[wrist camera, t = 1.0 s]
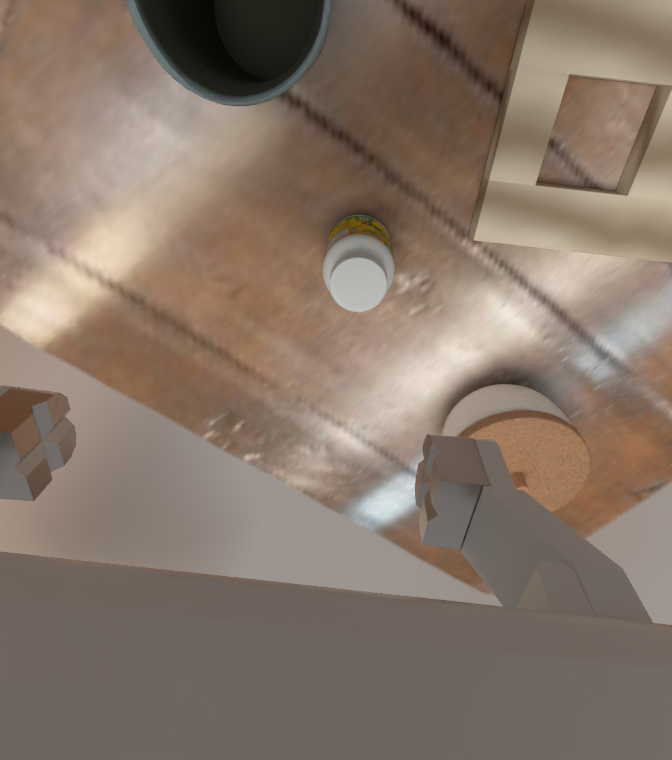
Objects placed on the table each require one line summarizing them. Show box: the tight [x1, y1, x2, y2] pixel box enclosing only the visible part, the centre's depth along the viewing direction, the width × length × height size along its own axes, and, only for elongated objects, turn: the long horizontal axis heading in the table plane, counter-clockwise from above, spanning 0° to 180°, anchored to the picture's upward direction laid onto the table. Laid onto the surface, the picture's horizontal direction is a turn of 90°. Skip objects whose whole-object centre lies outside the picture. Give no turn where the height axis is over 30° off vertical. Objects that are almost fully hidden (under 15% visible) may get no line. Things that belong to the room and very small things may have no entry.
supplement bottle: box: [323, 215, 395, 312], centre depth 36 cm, size 5×5×10 cm
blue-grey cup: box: [126, 0, 332, 106], centre depth 27 cm, size 10×10×12 cm
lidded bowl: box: [441, 384, 591, 513], centre depth 44 cm, size 13×13×11 cm
